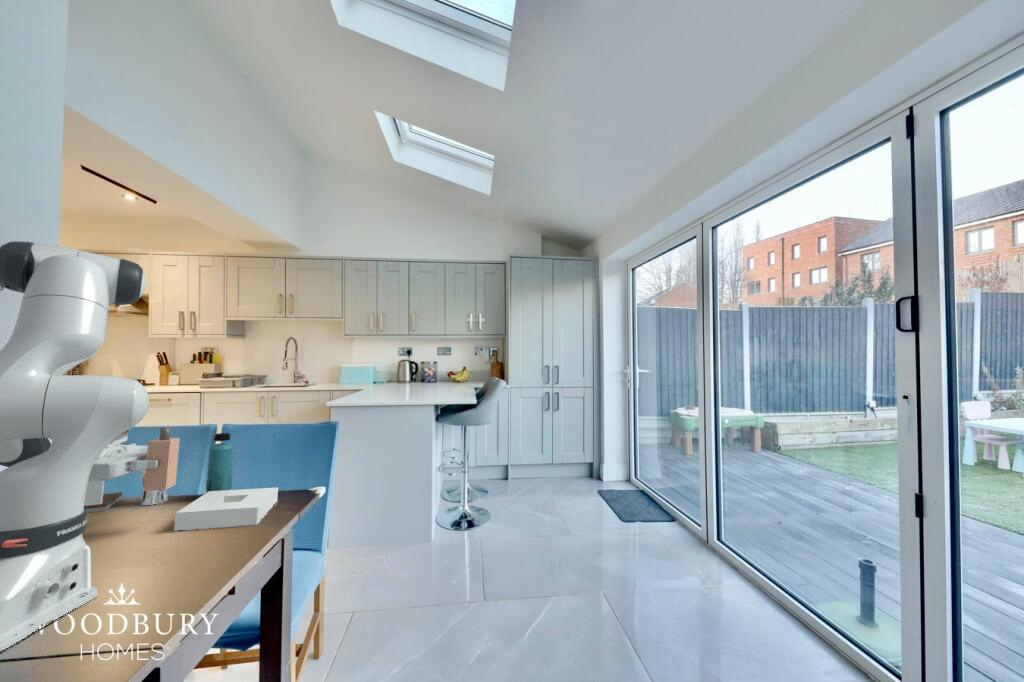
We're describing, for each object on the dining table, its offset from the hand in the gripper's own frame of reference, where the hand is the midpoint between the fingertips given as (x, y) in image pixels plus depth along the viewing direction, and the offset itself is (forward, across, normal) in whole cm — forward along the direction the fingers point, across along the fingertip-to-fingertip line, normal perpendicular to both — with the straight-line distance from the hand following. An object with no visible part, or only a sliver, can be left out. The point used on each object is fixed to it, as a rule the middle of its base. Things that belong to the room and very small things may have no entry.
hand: (166, 460), depth 99 cm
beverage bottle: (+1, +25, +17) cm, 30 cm away
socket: (+12, +8, +17) cm, 22 cm away
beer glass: (-15, +23, +17) cm, 32 cm away
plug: (-1, 0, +7) cm, 7 cm away
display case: (-30, +20, +17) cm, 40 cm away
